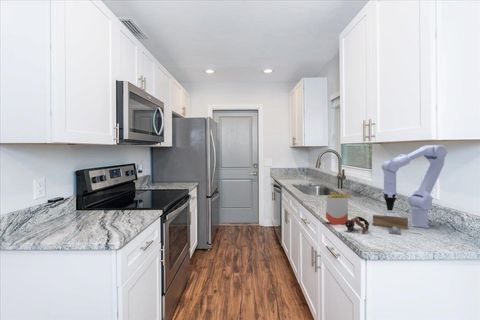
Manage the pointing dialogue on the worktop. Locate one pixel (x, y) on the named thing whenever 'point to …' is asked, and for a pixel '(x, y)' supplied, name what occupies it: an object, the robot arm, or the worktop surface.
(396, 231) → the fulcrum
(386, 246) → the worktop surface
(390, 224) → the batten
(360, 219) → the dark brown curved piece
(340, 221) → the french fries container
